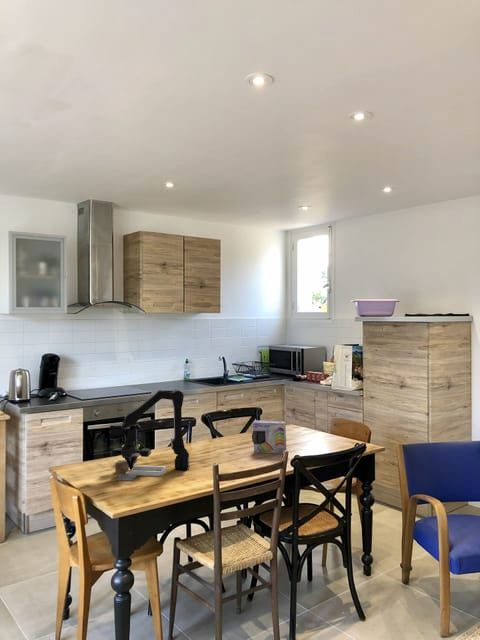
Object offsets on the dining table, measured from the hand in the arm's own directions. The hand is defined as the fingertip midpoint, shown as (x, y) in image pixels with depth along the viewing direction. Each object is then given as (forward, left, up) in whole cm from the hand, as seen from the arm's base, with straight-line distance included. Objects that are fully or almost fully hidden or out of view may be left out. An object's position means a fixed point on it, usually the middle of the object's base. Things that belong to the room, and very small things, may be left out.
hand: (131, 469), depth 256 cm
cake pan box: (-66, -44, -2) cm, 80 cm away
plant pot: (+6, -18, -1) cm, 20 cm away
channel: (-8, 0, -1) cm, 8 cm away
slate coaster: (-1, +10, -1) cm, 10 cm away
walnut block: (+5, 0, -1) cm, 5 cm away
